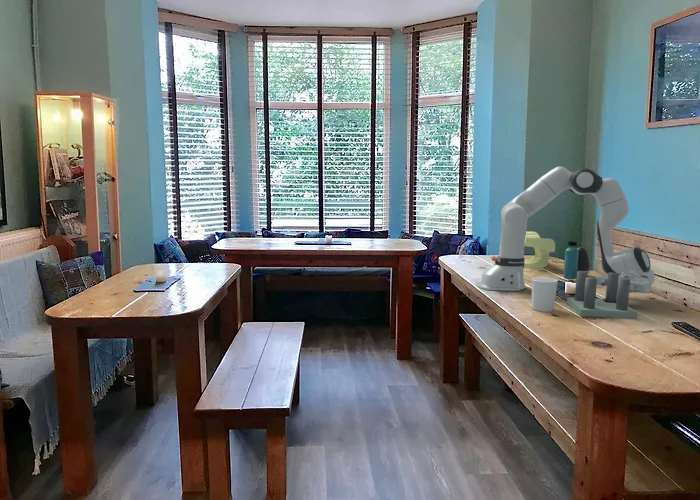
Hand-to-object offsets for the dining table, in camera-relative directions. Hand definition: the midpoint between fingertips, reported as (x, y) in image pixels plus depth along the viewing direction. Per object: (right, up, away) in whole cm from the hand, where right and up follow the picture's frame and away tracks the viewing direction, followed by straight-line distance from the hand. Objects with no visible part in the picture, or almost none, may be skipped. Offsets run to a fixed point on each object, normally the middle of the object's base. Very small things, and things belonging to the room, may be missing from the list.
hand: (613, 285), depth 222 cm
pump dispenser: (+13, +1, +65) cm, 66 cm away
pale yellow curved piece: (-3, +5, +92) cm, 92 cm away
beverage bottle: (+3, -1, +51) cm, 51 cm away
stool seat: (-7, -9, -4) cm, 13 cm away
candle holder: (-30, -9, -3) cm, 31 cm away
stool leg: (-1, -9, +1) cm, 9 cm away
